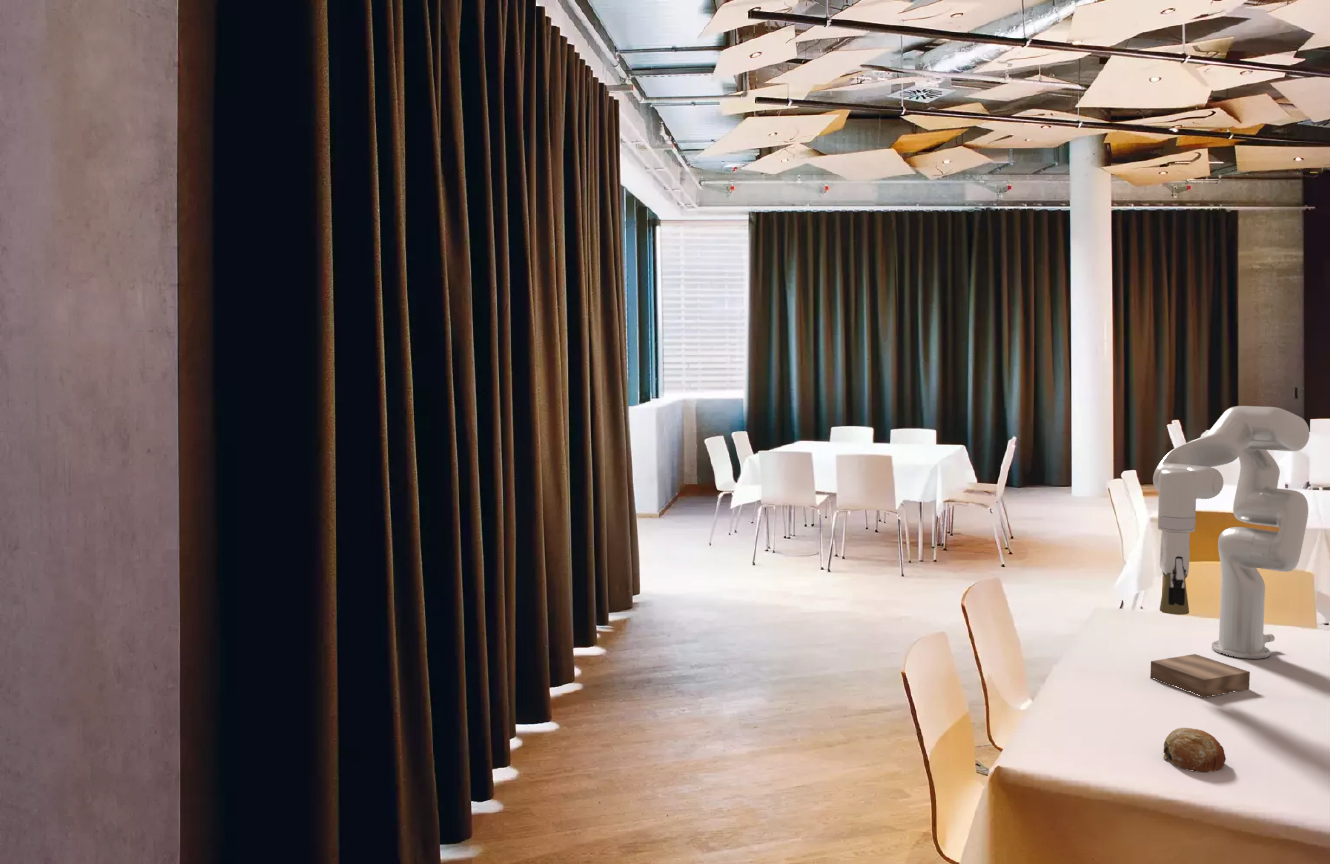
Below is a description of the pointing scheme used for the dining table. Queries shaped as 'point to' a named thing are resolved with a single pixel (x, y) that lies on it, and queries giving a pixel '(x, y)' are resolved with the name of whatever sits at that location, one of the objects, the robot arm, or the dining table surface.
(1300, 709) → the dining table surface
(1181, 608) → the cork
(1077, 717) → the dining table surface
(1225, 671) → the walnut plinth
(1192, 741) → the bread roll
